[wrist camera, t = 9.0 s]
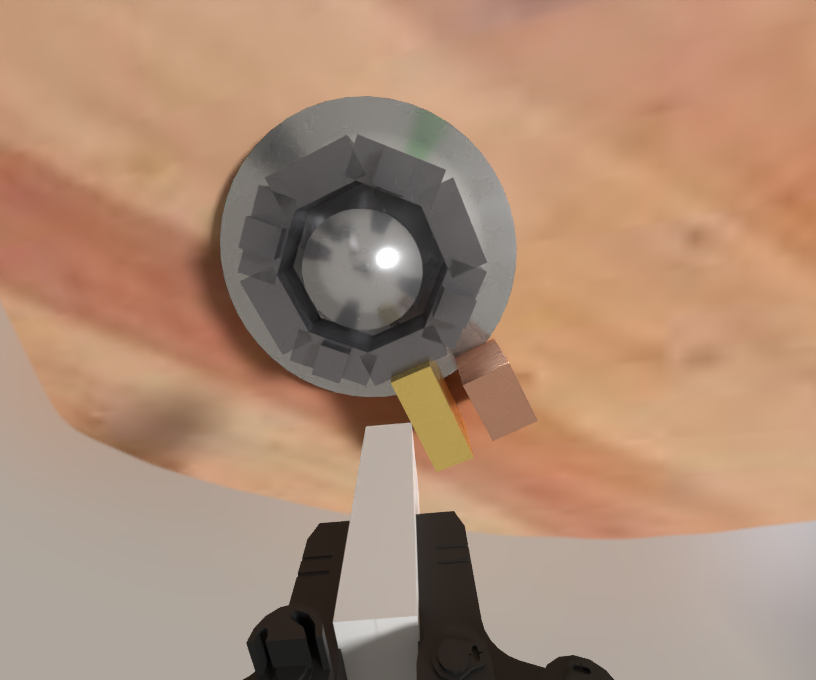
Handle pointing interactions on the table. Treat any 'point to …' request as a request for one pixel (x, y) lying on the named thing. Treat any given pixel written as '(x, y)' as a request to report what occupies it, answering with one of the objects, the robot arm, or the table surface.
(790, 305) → the table surface
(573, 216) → the table surface
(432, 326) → the grey ring yellow handle
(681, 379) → the table surface
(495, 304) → the housing
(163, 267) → the table surface
